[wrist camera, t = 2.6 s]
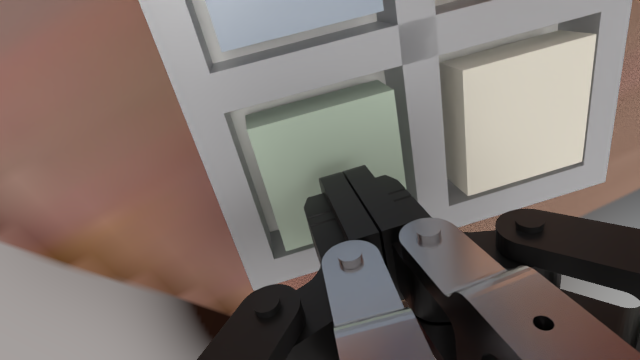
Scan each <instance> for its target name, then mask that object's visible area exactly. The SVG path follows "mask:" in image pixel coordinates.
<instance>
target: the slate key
mask: <svg viewBox="0 0 640 360" xmlns="http://www.w3.org/2000/svg"><path fill="white" fill-rule="evenodd" d="M205 2H206V5H207V8H208V11H209V14H210V17H211V20H212V24H213V27H214V30H215V33H216V36H217V39H218V42H219V45H220V48H221V51H222V52H225V51H229V50H233V49H237V48H241V47H245V46H249V45H253V44H257V43H260V42H264V41H268V40H272V39H276V38H280V37H284V36H288V35H292V34H296V33H299V32H303V31H307V30H311V29H315V28H319V27H323V26H327V25H331V24H335V23H338V22H342V21H346V20H350V19H354V18H358V17H362V16H366V15H370V14H374V13H377V12H381V11H384V7H383V0H205Z"/></svg>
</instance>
